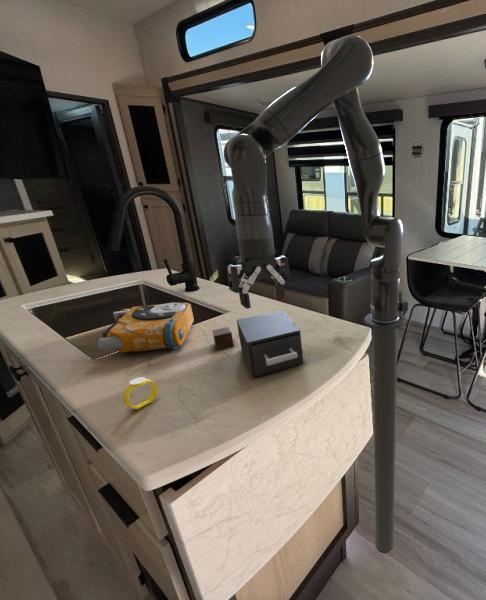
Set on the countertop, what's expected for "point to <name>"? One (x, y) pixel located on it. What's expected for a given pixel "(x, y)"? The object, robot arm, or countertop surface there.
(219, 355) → the countertop surface
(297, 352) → the open drawer cabinet
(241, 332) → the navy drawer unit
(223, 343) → the block
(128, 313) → the device
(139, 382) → the watch
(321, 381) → the countertop surface
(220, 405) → the countertop surface
